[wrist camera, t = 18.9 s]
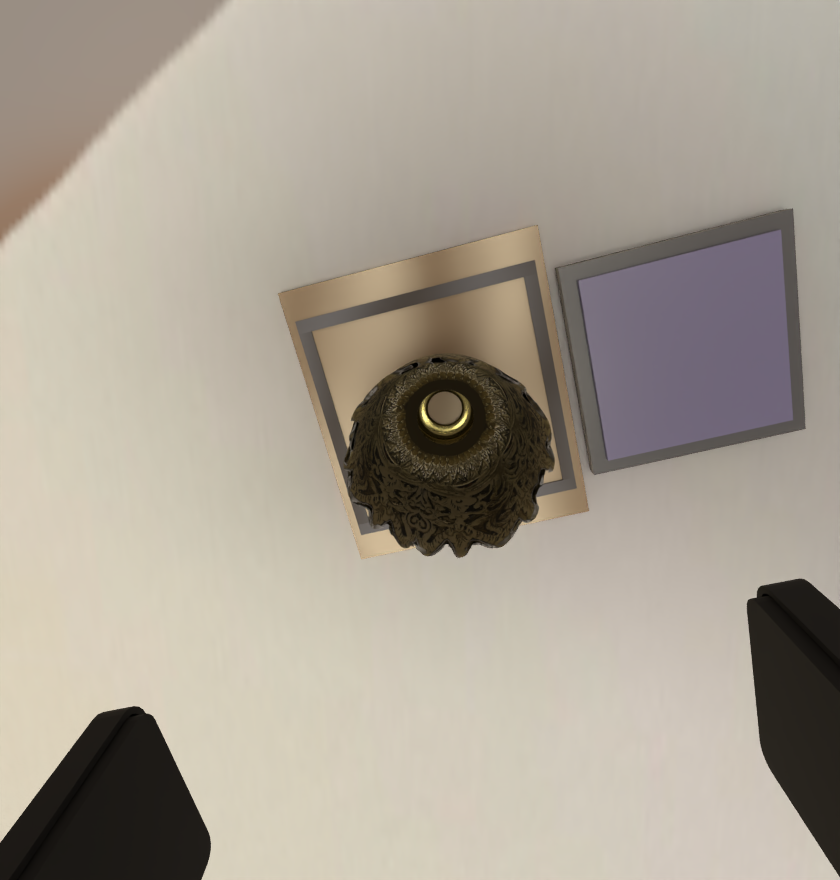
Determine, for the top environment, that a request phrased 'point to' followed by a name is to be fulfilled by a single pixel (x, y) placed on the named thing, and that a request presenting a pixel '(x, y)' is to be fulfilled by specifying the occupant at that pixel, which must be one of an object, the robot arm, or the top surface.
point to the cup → (448, 456)
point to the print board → (436, 349)
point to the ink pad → (686, 342)
